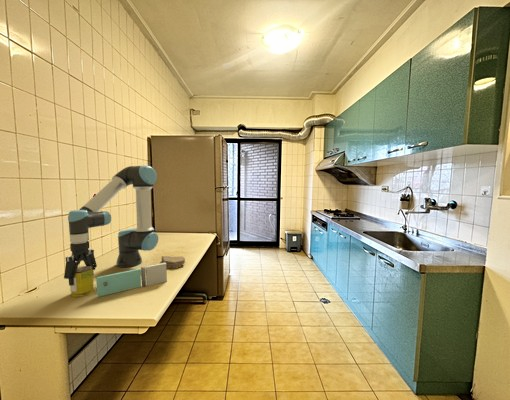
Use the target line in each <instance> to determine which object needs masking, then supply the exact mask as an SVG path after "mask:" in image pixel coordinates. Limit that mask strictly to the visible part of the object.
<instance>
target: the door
mask: <svg viewBox="0 0 510 400" xmlns="http://www.w3.org/2000/svg"><path fill="white" fill-rule="evenodd" d="M95 278H96V282H95V283H96V296H97V297H96V298H98V297H102V296H106V295H107V296H108V295H111V294H115V293H119V292H124V291H128V290H131V289H136V288H140V287H142V279H141V268H136V269H131V270H126V271H120V272H116V273H115V272H114V273H111V274H106V275H100V276H97V277H95Z"/></svg>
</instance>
